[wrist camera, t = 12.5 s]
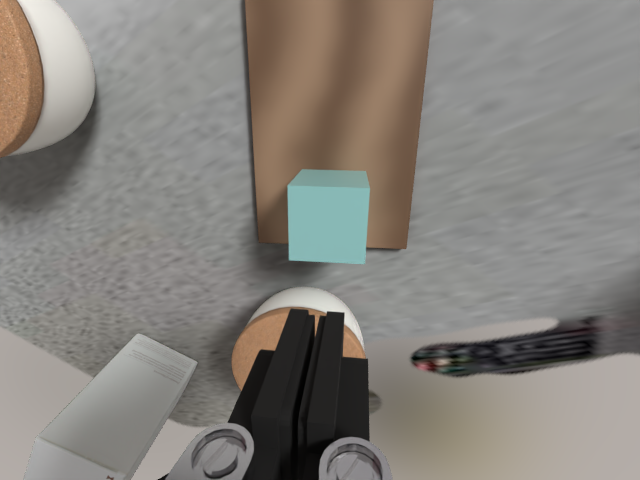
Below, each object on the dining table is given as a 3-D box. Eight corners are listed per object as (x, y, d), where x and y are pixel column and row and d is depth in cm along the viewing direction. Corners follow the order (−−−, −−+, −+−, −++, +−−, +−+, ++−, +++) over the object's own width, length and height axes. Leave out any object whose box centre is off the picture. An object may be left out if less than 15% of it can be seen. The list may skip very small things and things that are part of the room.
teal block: (365, 171, 27) (370, 188, 21) (362, 231, 29) (365, 264, 23) (301, 169, 28) (287, 185, 21) (302, 229, 29) (288, 260, 23)
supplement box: (137, 330, 36) (33, 435, 24) (200, 361, 37) (128, 478, 25) (118, 375, 39) (15, 491, 27) (177, 404, 39) (102, 528, 28)
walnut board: (432, -11, 23) (435, -15, 23) (404, 245, 30) (406, 249, 29) (247, -8, 24) (244, -12, 24) (260, 239, 31) (258, 242, 30)
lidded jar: (337, 251, 31) (331, 306, 22) (380, 342, 34) (390, 422, 25) (237, 290, 33) (196, 353, 24) (286, 372, 36) (265, 454, 28)
